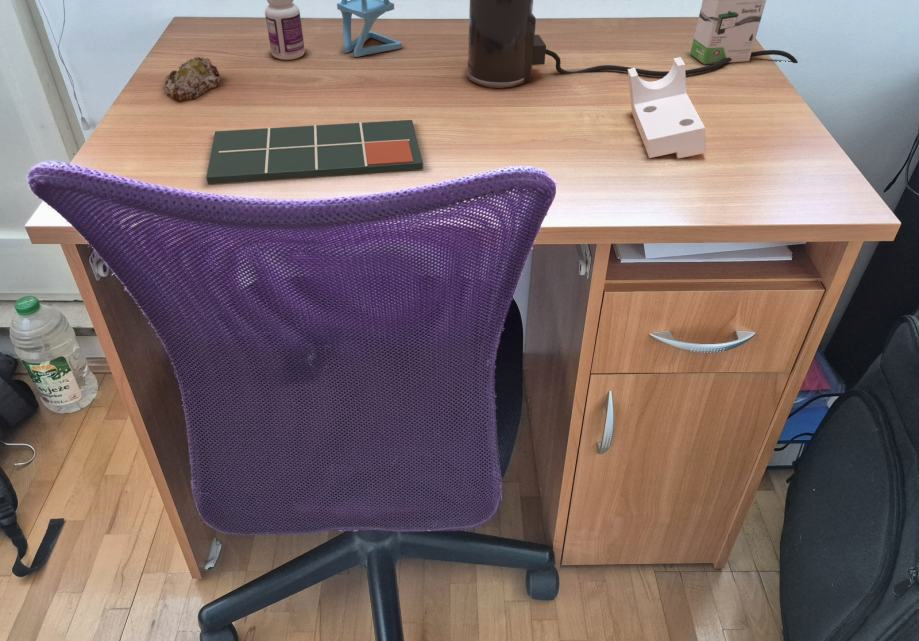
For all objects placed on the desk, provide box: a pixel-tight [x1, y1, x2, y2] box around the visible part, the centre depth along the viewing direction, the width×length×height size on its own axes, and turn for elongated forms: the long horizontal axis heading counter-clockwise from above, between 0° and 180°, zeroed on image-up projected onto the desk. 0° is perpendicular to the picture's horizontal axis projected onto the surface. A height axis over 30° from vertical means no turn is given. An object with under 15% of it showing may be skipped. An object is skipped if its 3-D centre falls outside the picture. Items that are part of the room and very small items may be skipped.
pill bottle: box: [264, 0, 306, 61], centre depth 115 cm, size 5×5×10 cm
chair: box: [336, 0, 402, 58], centre depth 116 cm, size 8×8×12 cm
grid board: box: [205, 119, 424, 185], centre depth 93 cm, size 26×12×1 cm, turn 99°
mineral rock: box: [164, 56, 221, 102], centre depth 107 cm, size 11×4×8 cm
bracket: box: [627, 56, 707, 159], centre depth 96 cm, size 13×7×8 cm, turn 0°
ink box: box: [689, 0, 767, 65], centre depth 116 cm, size 9×5×12 cm, turn 103°
